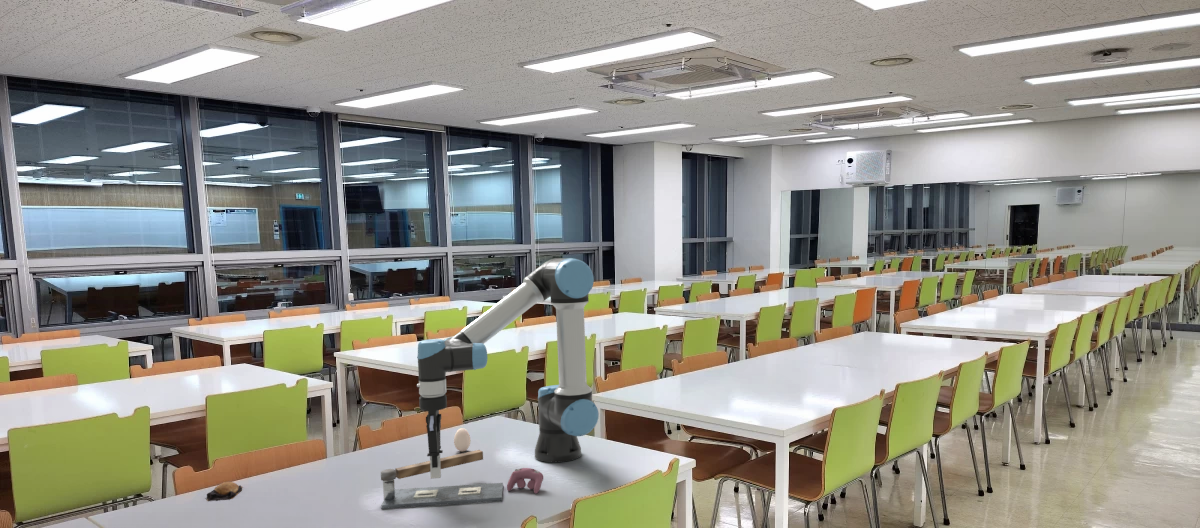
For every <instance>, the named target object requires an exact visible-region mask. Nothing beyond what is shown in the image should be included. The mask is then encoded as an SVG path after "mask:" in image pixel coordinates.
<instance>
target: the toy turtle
mask: <svg viewBox="0 0 1200 528" xmlns="http://www.w3.org/2000/svg"><path fill="white" fill-rule="evenodd" d="M243 488H244V487H243V486H242V485H239V484H237V483H236V482H233V481H225V482H221V483H220V484H218V485H217V486H215V487H214V489H213V490H211V491H210V492H208V493H207V494H206V497H207V499H206V502H217V501H227V500H233V499H234V498H236V497H237V496H238V495H239V494H240V492H242V490H243Z"/></svg>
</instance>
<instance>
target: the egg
mask: <svg viewBox="0 0 1200 528" xmlns="http://www.w3.org/2000/svg"><path fill="white" fill-rule="evenodd" d="M453 444H454V447H455V449H456V450H457V451H458V452H463V453H465V452H466V451H467V450H468V449H469V447H470V446H471V436H470V433H469V431H468V430H467V429H466V428H464V427H462V428H458V429H457V431H456V432H455V434H454V437H453Z"/></svg>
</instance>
